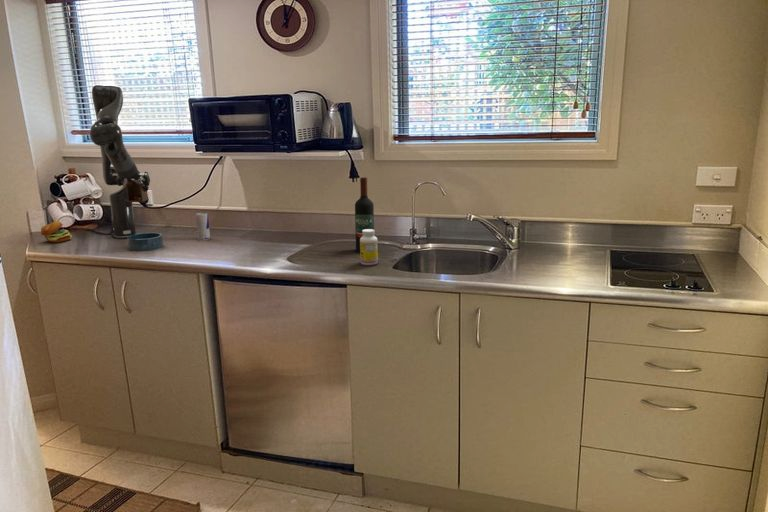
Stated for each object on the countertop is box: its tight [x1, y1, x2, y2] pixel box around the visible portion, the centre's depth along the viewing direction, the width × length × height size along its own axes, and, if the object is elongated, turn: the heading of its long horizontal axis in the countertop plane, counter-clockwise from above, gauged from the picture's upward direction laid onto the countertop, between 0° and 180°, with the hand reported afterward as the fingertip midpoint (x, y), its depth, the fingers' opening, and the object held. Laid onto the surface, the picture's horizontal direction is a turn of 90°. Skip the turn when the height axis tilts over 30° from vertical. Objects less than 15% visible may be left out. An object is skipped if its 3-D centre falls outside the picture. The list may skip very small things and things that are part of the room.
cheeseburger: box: [40, 220, 72, 244], centre depth 257 cm, size 10×11×10 cm
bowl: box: [126, 232, 164, 252], centre depth 242 cm, size 14×14×6 cm
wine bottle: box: [354, 176, 375, 253], centre depth 232 cm, size 8×8×30 cm
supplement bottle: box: [359, 229, 379, 266], centre depth 214 cm, size 7×7×13 cm
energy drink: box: [195, 212, 211, 241], centre depth 256 cm, size 5×5×12 cm
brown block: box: [126, 182, 149, 203], centre depth 233 cm, size 6×6×8 cm
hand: (138, 190), depth 235 cm, fingers closed on brown block, 6 cm apart
